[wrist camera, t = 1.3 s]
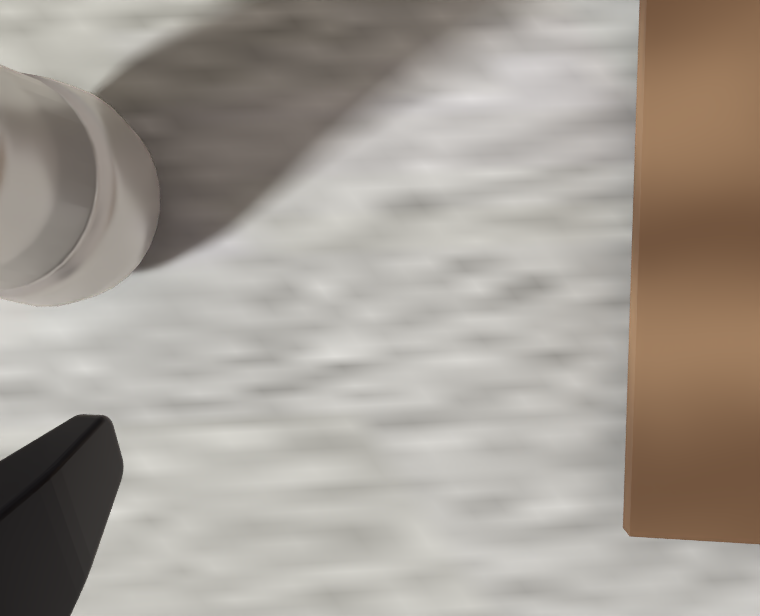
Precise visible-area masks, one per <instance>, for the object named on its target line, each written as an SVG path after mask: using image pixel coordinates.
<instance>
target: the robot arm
mask: <svg viewBox="0 0 760 616" xmlns="http://www.w3.org/2000/svg"><path fill="white" fill-rule="evenodd" d="M122 475H123V459H122V455H121V451H120V448H119V444H118V441H117V437H116V433H115V430H114V426H113V423H112V421H111V420H110V418H108V417H107V416H104V415H87V414H82V415H76V416H75V417H73V418H71V419H69V420H68V421H66V422H64V423H63V424H61V425H59V426H58V427H56V428H54V429H53V430H51V431H49V432H48V433H46V434H44V435H43V436H41V437H39V438H38V439H36V440H34V441H33V442H31V443H29V444H28V445H26V446H24V447H23V448H21V449H19V450H18V451H16V452H14V453H13V454H11V455H9V456H8V457H6V458H4V459H3V460H1V461H0V616H70V615H71V613H72V611H73V609H74V607H75V604H76V602H77V600H78V598H79V596H80V593H81V591H82V589H83V587H84V584H85V582H86V580H87V577H88V575H89V572H90V569H91V567H92V564H93V561H94V558H95V555H96V552H97V549H98V547H99V544H100V541H101V538H102V535H103V532H104V529H105V526H106V523H107V520H108V517H109V514H110V512H111V509H112V506H113V503H114V500H115V497H116V494H117V491H118V488H119V485H120V482H121V479H122Z"/></svg>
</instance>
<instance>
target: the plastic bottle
mask: <svg viewBox="0 0 760 616" xmlns="http://www.w3.org/2000/svg"><path fill="white" fill-rule="evenodd" d="M159 213H160V186H159V181H158V176H157V171H156V168H155V165H154V163H153V160H152V158H151V155H150V153H149V151H148V150H147V148H146V146H145V145H144V143H143V142H142V140H141V139H140V137H139V136H138V135H137V134H136V132H135V131H134V130H133V129H132V128H131V127H130V126H129V125H128V124H127V123H126V121H125V120H124V119H123V118H122V117H121V116H120V115H119V114H118V113H117V112H116V111H115V110H114V109H113V108H112V107H111V106H110V105H109V104H107V103H106V102H104V101H103V100H101V99H100V98H98V97H97V96H95V95H94V94H92V93H89V92H87V91H84V90H82V89H79V88H77V87H74V86H71V85H68V84H65V83H62V82H59V81H57V80H54V79H51V78H47V77H42V76H36V75H31V74H25V73H19V72H17V71H14V70H12V69H10V68H7V67H5V66H2V65H0V299H3V300H8V301H12V302H16V303H21V304H26V305H31V306H36V307H51V306H61V305H65V304H69V303H74V302H78V301H81V300H84V299H88V298H91V297H94V296H97V295H99V294H101V293H104V292H106V291H108V290H110V289H112V288H114V287H115V286H116V285H118V284H119V283H120V282H122V281H123V280H124V279H126V278H127V277H128V276H129V275H130V274H131V273H132V272H133V271H134V269H135V268H136V267H137V266H138V265H139V264H140V263H141V261H142V259H143V258H144V256H145V254H146V253H147V251H148V249H149V248H150V246H151V243H152V240H153V237H154V235H155V232H156V229H157V225H158V219H159Z"/></svg>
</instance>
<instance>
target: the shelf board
mask: <svg viewBox="0 0 760 616" xmlns="http://www.w3.org/2000/svg"><path fill="white" fill-rule="evenodd" d="M623 528H624V530H625V531H626V532H627V533H628V535H629V536H632V537H648V538H665V539H682V540H698V541H715V542H732V543H748V544H760V0H640V7H639V39H638V71H637V102H636V134H635V165H634V197H633V229H632V260H631V292H630V323H629V355H628V386H627V418H626V450H625V481H624V513H623Z"/></svg>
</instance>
